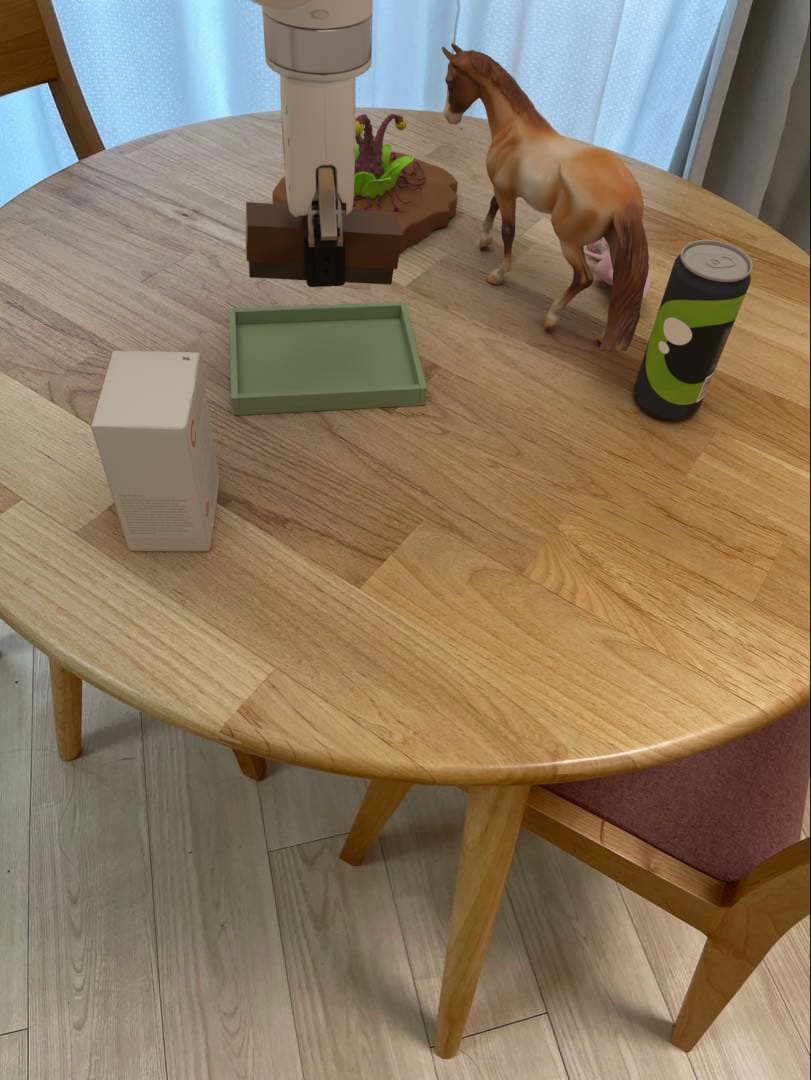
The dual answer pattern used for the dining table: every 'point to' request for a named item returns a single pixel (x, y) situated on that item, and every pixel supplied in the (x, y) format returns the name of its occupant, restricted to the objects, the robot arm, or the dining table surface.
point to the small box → (158, 449)
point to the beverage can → (692, 328)
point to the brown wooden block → (283, 236)
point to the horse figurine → (555, 190)
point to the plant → (396, 184)
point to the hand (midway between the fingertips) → (323, 267)
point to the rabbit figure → (606, 263)
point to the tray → (323, 358)
